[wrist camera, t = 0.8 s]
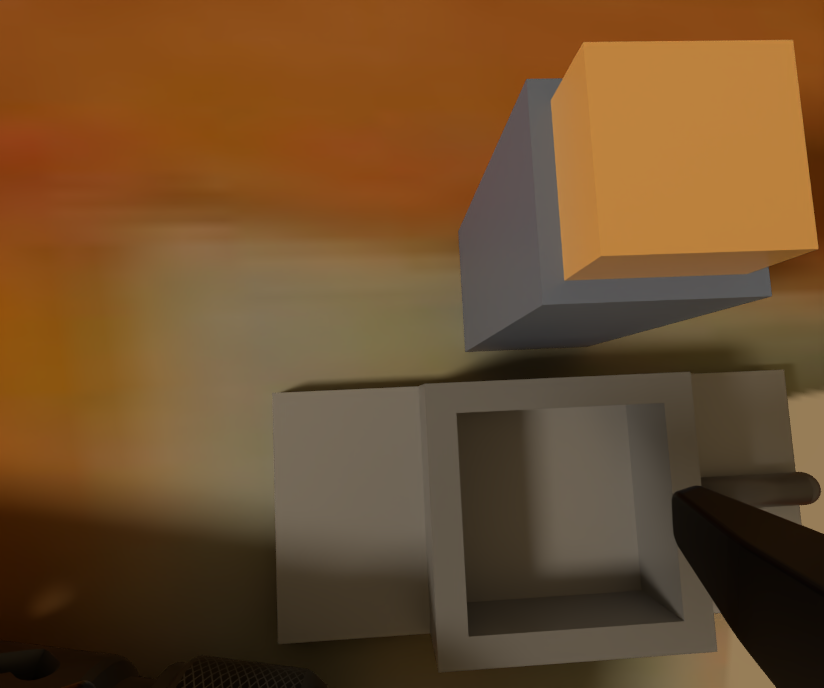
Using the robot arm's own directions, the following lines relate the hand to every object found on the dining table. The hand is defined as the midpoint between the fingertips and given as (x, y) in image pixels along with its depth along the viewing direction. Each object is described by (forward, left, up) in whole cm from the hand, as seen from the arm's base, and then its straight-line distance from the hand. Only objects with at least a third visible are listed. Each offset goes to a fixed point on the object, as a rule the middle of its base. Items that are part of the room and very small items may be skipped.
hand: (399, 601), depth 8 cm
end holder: (-4, -4, -14) cm, 15 cm away
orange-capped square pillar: (+2, -9, -14) cm, 17 cm away
